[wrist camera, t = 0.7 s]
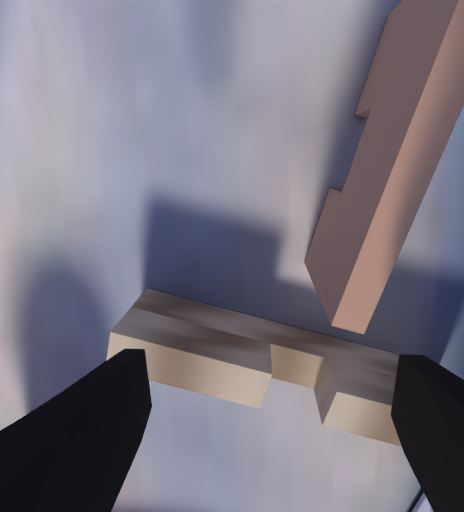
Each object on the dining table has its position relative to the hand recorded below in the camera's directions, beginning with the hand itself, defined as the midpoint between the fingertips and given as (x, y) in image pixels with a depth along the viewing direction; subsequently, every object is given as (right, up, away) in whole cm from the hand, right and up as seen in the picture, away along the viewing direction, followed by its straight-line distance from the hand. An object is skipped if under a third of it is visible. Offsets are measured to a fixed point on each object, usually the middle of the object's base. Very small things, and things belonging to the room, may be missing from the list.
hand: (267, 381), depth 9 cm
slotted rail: (+2, -2, +10) cm, 11 cm away
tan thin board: (+5, +9, +7) cm, 12 cm away
